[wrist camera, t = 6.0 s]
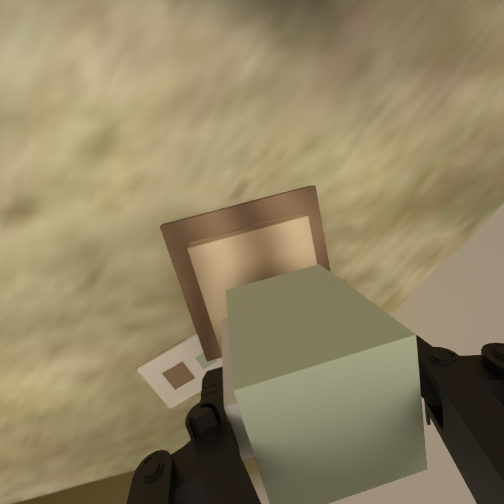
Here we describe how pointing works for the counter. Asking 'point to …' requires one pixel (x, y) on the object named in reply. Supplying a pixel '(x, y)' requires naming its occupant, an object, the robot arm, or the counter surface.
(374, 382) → the sage brick
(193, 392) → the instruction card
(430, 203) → the counter surface
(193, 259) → the base brick
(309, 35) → the counter surface
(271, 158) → the counter surface
